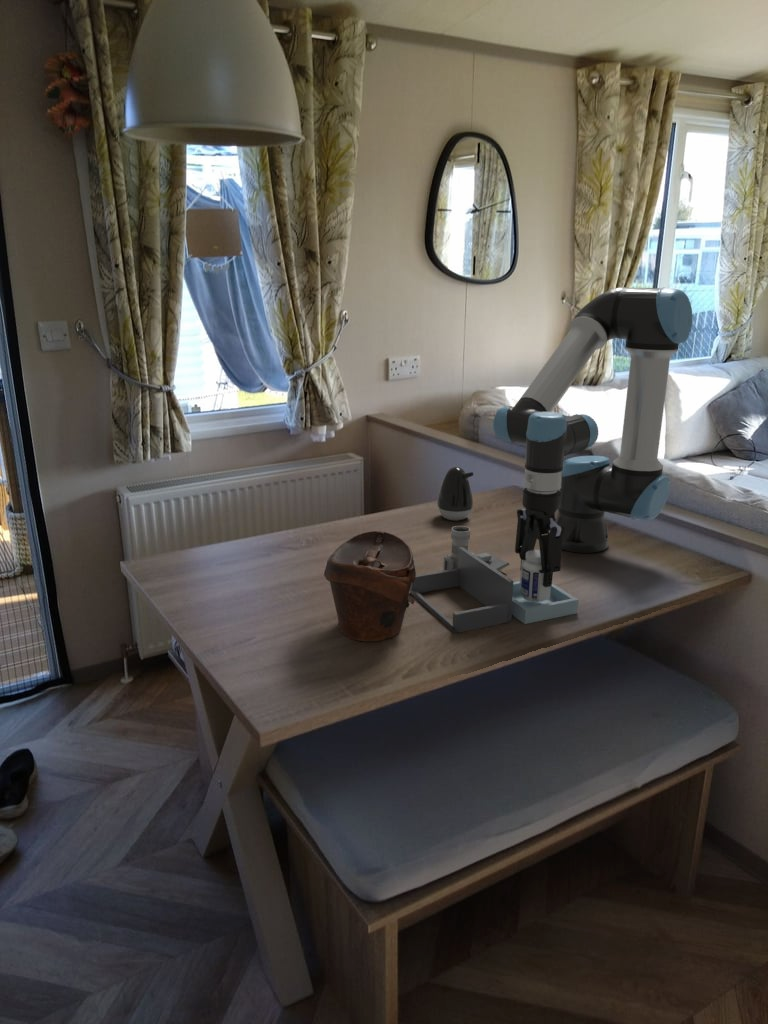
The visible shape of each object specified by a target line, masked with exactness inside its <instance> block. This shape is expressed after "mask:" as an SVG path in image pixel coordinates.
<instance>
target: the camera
mask: <svg viewBox="0 0 768 1024" xmlns="http://www.w3.org/2000/svg"><path fill="white" fill-rule="evenodd" d="M450 535H451V537H450V539H451V541H452V542H451V554H446V555H444V556H443V570H442V571H444V570H450V569H456V568H458V553H459V547H463V548H465V549H466V550H468V551H469V552H471V553H472V554H474V555H475V556H477V557H478V558H480V559H481V560H483V561H484V562H486V563H487V564H489V565H490V566H492V567H493V568H495V569H496V570H498V571H499V572H500V571H501V570H502V569H504V568H507V567H508V566H510V563H509V562H508V561H507V560H504V559H502V558H500V557H498V556H496V555H494V554H492V553H489V552H487V551H484V552H483V553H478V554H477V553H475V552H472V551H471V550H469V541H470V539H471V538H470V537H471V528H470V527H468V526H464V525H455V526H452V527H451V534H450Z"/></svg>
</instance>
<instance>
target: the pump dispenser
mask: <svg viewBox="0 0 768 1024" xmlns="http://www.w3.org/2000/svg"><path fill="white" fill-rule="evenodd" d="M473 476H474V472H473V471H471V472H466V471H465V469H464V468H462V467H460V466H453V467H451V468H449V469H448V470H447V472H446V473H445V475H444V477H443V479H442V482H441V483H440V488H439V491H438V497H437V505H436V506H437V507H438V511H439V514H440V515H441V516H442V517H443V518H444V519H447V520H449V521H456V522H457V521H462V520H465V519H466V518H468V516H470V514H471V512H472V509H473V507H474V499H473V491H472V486H471V483H470V480H469V478H470V477H473Z"/></svg>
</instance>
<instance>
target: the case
mask: <svg viewBox="0 0 768 1024" xmlns="http://www.w3.org/2000/svg"><path fill="white" fill-rule="evenodd" d="M413 555H414V554H413V552H412V548H411V547H410V546H409V545H408V544H407V543H406V541H404V540H403V539H402V538H400V537H399V536H397V535H395V534H393V533H390V532H386V531H381V530H380V531H379V530H378V531H377V530H375V531H374V530H371V531H367V532H362V533H360V534H357V535H355V536H353V537H352V538H350V539H348V540H346V541H345V542H344V543H342V544H341V545H340V546H339V547H337V549H336V550H335V551H334V552H332V554H331V555H330V557H329V558H328V559H327V560H326V561H327V562H326V566H325V569H324V574H323V576H324V578H325V579H326V580H327V581H328V582H329V583H330V589H331V594H332V599H333V603H334V608H335V611H336V616H337V622H338V624H337V625H338V627H339V630H340V632H341V633H342V634H343V635H344V636H346V637H348V638H349V639H352V640H354V641H357V642H366V643H368V642H371V643H373V642H381V641H385V640H388V639H390V638H392V637H395V636H396V635H397V634H398V633H399V632H400V631H401V628H403V623H404V617H405V614H406V611H407V608H408V609H409V607H410V604H411V605H414V603H415V597H412V596H411V595H409V594H410V587H411V582H412V583H413V582H414V581H415V578H416V575H417V572H416V566H415V560H414V556H413Z"/></svg>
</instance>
